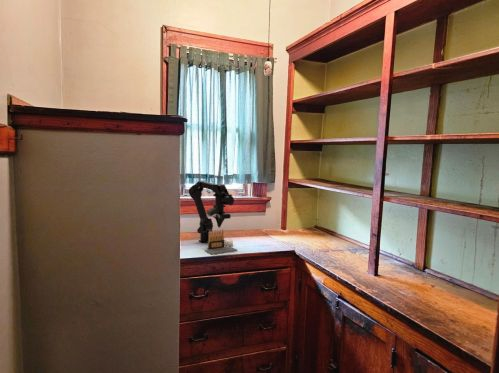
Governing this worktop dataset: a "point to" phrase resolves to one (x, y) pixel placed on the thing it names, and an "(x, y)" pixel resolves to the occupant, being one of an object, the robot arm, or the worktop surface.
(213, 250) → the mat
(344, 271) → the worktop surface
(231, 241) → the white small block
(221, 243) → the ammunition clip
